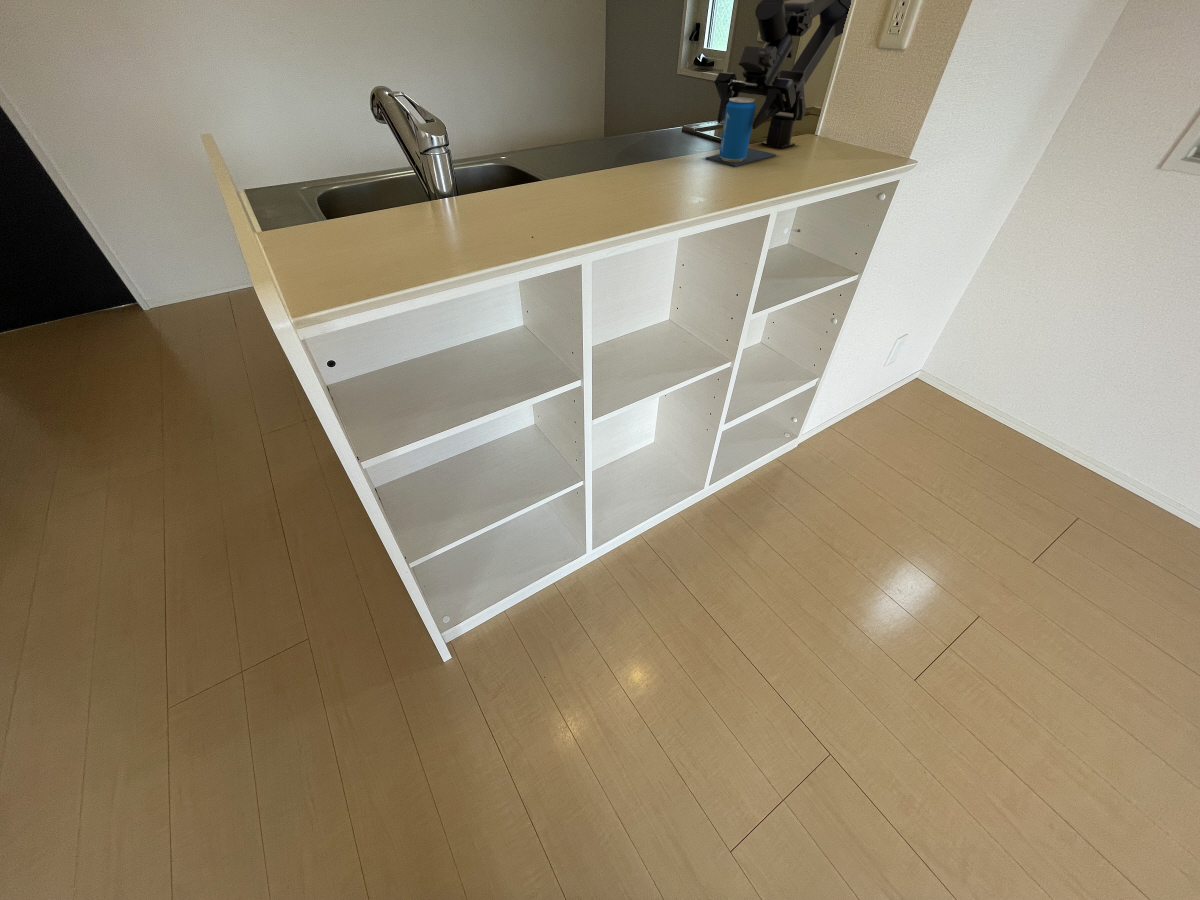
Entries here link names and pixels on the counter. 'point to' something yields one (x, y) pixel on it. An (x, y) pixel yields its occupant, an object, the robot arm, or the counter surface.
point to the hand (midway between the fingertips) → (735, 124)
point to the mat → (751, 157)
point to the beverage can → (737, 129)
